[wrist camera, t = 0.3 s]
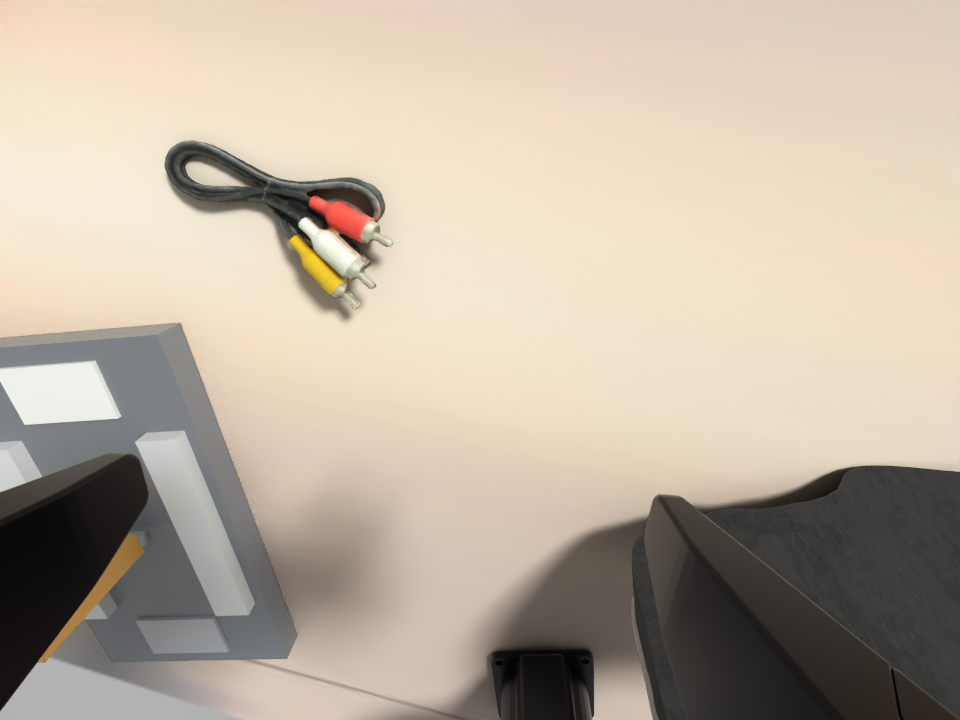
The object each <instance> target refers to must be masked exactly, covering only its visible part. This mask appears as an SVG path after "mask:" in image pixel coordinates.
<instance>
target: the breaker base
mask: <svg viewBox="0 0 960 720" xmlns="http://www.w3.org/2000/svg"><path fill="white" fill-rule="evenodd" d="M111 452H118V453H130V454H134V455H136V456H137V457H138V458H139V459H140V461H141V464H142V468H143V471H144V475H145V478H146V482H147V485H148V489H149V498H148V502H147V505H146V506H145V508H144V510H143V511H142V513H141V515H140V516H139V518H138V519H137V521H136V522H135V524H134V526H133V527H132V529H131V530H130V531H148V532H149V534H150V540H149V542H148V544H147V545H146V546H144V547H142V548H143V550H144V553H143V554H142V555H141V556H140V557H139V558H138V559H137V560H136V562H135V563H134V564H133V565H132V566H131V567H130V568H129V569H128V570H127V572H126V573H125V574H124V575H123V576H122V577H121V578H120V579H119V580H118V582H117V583H116V584H115V585H114V586H113V587H112V588H111V589H110V590H109V592H108V593H107V594H106V595H105V596H104V597H103V598H102V599H101V601H100V602H99V603H98V604H97V605H96V606H95V607H94V608H93V609H92V611H91V612H90V613H89V614H88V615H87V616H86V617H85V618H84V619H83V620H86V621H87V623H88V624H89V626H90V628H91V629H92V631H93V632H94V634H95V636H96V637H97V639H98V640H99V642H100V644H101V645H102V647H103V648H104V650H105V652H106V653H107V655H108V657H109V658H110V660H111V661H112V662H132V661H188V660H245V659H287V658H288V656H289V653H290V651H291V649H292V647H293V644H294V642H295V640H296V637H297V633H296V630H295V627H294V625H293V622H292V619H291V617H290V614H289V611H288V609H287V606H286V603H285V601H284V598H283V595H282V593H281V590H280V587H279V585H278V582H277V579H276V577H275V574H274V571H273V569H272V566H271V563H270V561H269V558H268V555H267V553H266V550H265V547H264V545H263V542H262V539H261V537H260V534H259V531H258V529H257V526H256V523H255V521H254V518H253V515H252V513H251V510H250V507H249V505H248V502H247V499H246V497H245V494H244V491H243V489H242V486H241V483H240V481H239V478H238V475H237V473H236V470H235V468H234V465H233V462H232V460H231V457H230V454H229V452H228V449H227V446H226V444H225V441H224V438H223V436H222V433H221V430H220V428H219V425H218V422H217V420H216V417H215V414H214V412H213V409H212V406H211V404H210V401H209V398H208V396H207V393H206V390H205V388H204V385H203V382H202V380H201V377H200V374H199V372H198V369H197V366H196V364H195V361H194V358H193V356H192V353H191V350H190V348H189V345H188V342H187V340H186V337H185V334H184V332H183V329H182V326H181V324H180V323H171V324H159V325H147V326H136V327H124V328H112V329H100V330H88V331H77V332H65V333H53V334H41V335H29V336H18V337H6V338H0V492H2V491H5V490H8V489H10V488H13V487H16V486H19V485H21V484H24V483H27V482H30V481H32V480H35V479H38V478H41V477H43V476H46V475H49V474H51V473H54V472H57V471H60V470H62V469H65V468H68V467H71V466H73V465H76V464H79V463H82V462H84V461H87V460H90V459H93V458H95V457H98V456H101V455H104V454H106V453H111Z"/></svg>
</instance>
